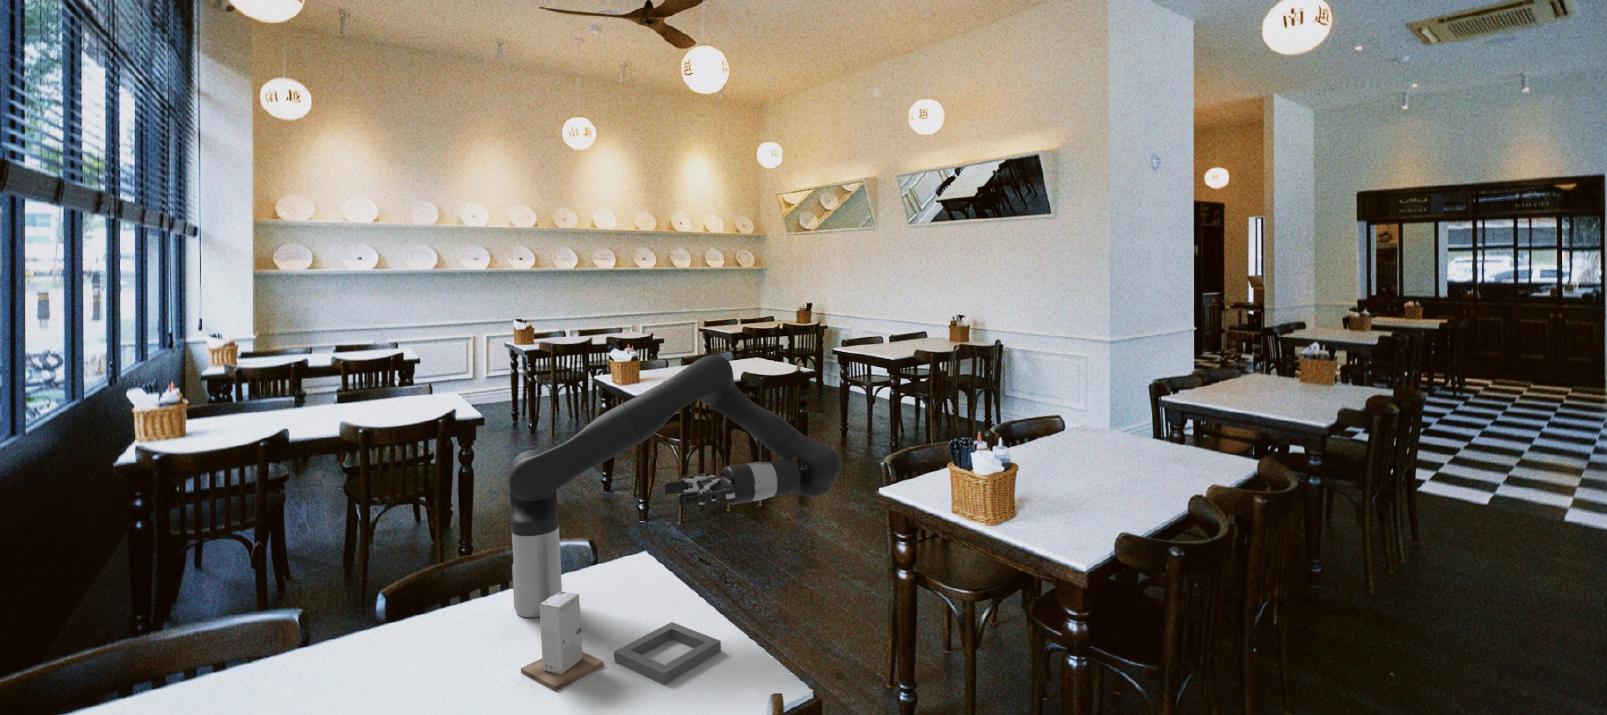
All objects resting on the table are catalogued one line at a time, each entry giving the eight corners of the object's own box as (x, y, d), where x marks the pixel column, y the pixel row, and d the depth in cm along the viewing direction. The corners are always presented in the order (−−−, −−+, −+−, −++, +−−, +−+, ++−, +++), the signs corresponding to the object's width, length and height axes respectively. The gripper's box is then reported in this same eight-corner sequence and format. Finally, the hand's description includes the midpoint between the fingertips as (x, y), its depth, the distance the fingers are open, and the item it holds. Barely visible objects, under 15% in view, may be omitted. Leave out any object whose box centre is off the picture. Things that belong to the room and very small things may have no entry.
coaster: (521, 672, 130) (520, 668, 130) (569, 649, 138) (569, 645, 138) (555, 690, 124) (555, 686, 124) (603, 665, 132) (603, 661, 132)
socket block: (614, 661, 133) (614, 651, 133) (672, 631, 144) (671, 621, 144) (664, 684, 125) (663, 673, 125) (721, 651, 136) (720, 640, 136)
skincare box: (562, 675, 127) (559, 607, 126) (541, 670, 129) (537, 604, 127) (584, 657, 133) (581, 593, 132) (563, 653, 135) (560, 590, 133)
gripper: (735, 456, 153) (658, 466, 146) (764, 471, 141) (682, 483, 133) (735, 491, 154) (660, 503, 146) (765, 510, 141) (683, 524, 134)
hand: (671, 494), depth 140 cm, fingers open, 8 cm apart
